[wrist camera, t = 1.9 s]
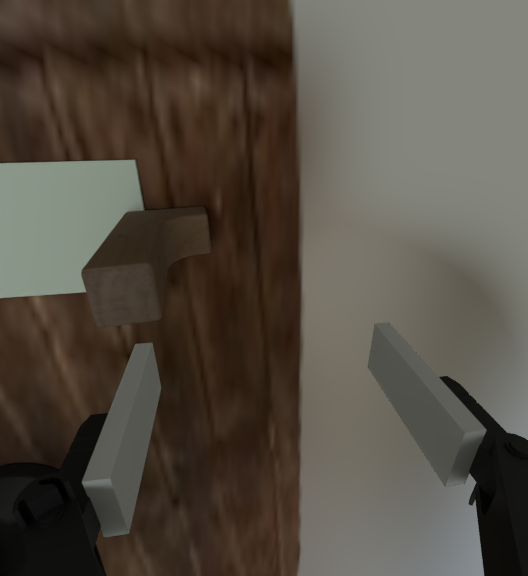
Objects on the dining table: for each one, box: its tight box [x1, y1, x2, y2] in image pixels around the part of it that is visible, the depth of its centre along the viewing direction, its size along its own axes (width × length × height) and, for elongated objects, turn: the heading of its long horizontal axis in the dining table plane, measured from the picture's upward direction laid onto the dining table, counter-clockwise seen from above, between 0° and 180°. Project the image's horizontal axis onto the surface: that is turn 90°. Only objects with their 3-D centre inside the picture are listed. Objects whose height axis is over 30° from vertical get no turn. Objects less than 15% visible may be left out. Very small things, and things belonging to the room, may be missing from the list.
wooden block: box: [81, 206, 211, 328], centre depth 30 cm, size 9×4×18 cm, turn 92°
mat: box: [0, 160, 145, 298], centre depth 37 cm, size 21×15×1 cm
